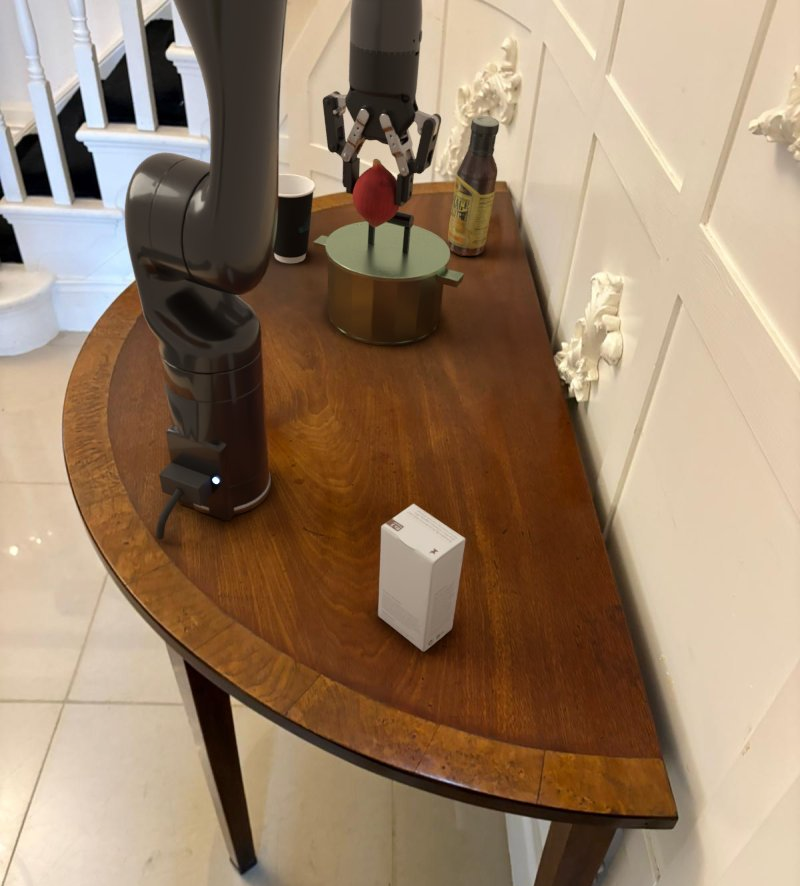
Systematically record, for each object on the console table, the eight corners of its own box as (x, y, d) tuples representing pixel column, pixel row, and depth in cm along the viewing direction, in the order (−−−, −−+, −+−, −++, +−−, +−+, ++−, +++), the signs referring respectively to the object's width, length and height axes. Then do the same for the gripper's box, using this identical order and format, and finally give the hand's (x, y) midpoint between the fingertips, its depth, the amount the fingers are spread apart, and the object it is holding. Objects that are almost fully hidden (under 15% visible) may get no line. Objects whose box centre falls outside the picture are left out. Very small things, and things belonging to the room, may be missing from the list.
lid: (421, 299, 98) (426, 251, 93) (302, 265, 101) (302, 218, 97) (466, 247, 109) (472, 202, 104) (358, 219, 112) (359, 174, 108)
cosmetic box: (453, 628, 73) (472, 537, 64) (421, 656, 70) (436, 564, 62) (405, 591, 75) (416, 499, 67) (372, 617, 73) (379, 524, 64)
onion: (400, 219, 100) (405, 153, 94) (396, 239, 96) (401, 171, 90) (355, 214, 100) (357, 148, 94) (348, 233, 96) (350, 165, 90)
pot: (431, 363, 104) (439, 297, 97) (291, 321, 108) (289, 255, 102) (471, 311, 114) (481, 248, 107) (341, 274, 119) (343, 212, 112)
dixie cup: (261, 245, 124) (257, 173, 116) (311, 243, 125) (310, 172, 118) (267, 269, 118) (264, 195, 111) (319, 267, 120) (319, 194, 112)
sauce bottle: (441, 242, 129) (456, 111, 115) (476, 239, 131) (495, 110, 117) (454, 260, 125) (472, 127, 111) (490, 258, 127) (512, 126, 113)
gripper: (308, 33, 83) (309, 195, 94) (435, 59, 79) (419, 223, 91) (340, 20, 88) (337, 174, 99) (460, 43, 84) (442, 201, 96)
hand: (376, 197), depth 95 cm, fingers closed on onion, 6 cm apart
